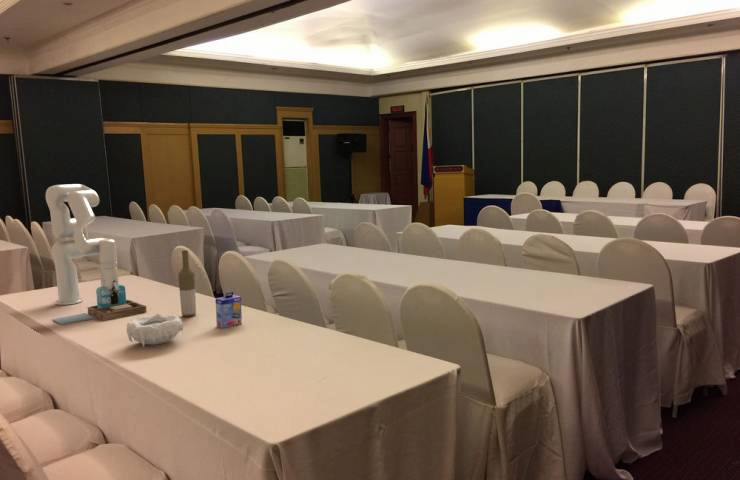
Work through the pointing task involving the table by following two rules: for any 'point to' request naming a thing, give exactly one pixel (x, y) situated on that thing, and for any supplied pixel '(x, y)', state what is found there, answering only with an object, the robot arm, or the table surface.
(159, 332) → the bowl
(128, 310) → the rack
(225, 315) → the ink cartridge box
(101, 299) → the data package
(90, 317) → the mat
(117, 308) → the offcut stack
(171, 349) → the table surface
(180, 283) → the bottle
